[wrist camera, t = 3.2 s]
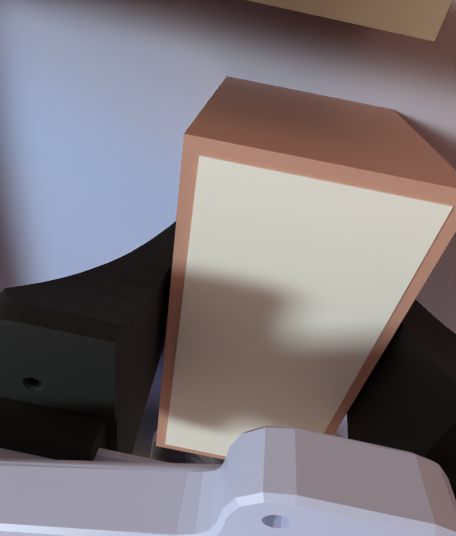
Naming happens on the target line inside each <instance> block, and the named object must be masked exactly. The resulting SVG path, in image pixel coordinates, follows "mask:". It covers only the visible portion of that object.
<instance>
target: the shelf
mask: <svg viewBox="0 0 456 536" xmlns="http://www.w3.org/2000/svg"><path fill="white" fill-rule="evenodd" d="M248 1H253V2H257V3H262V4H266V5H271V6H275V7H280V8H284V9H289V10H293V11H298V12H302V13H307V14H311V15H316V16H320V17H325V18H330V19H334V20H339V21H343V22H348V23H352V24H357V25H361V26H366V27H370V28H375V29H379V30H384V31H388V32H393V33H398V34H402V35H407V36H411V37H416V38H420V39H425V40H429V41H435V39H436V37H437V34H438V32H439V30H440V28H441V25H442V23H443V21H444V18H445V16H446V14H447V11H448V9H449V7H450V4H451V2H452V0H248Z"/></svg>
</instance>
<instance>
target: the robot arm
mask: <svg viewBox="0 0 456 536" xmlns="http://www.w3.org/2000/svg"><path fill="white" fill-rule="evenodd" d="M175 229H176V222H174V223H173V224H172V225H171V226H169V227H168V228H167V229H165V230H164V231H163V232H161V233H160V234H158V235H157V236H156V237H154V238H153V239H151V240H150V241H148V242H147V243H145V244H144V245H142V246H140V247H139V248H137V249H135V250H134V251H132V252H130V253H128V254H126V255H124V256H122V257H120V258H118V259H116V260H114V261H111V262H109V263H107V264H104V265H101V266H98V267H96V268H93V269H90V270H87V271H84V272H82V273H78V274H75V275H71V276H68V277H64V278H60V279H55V280H51V281H46V282H42V283H36V284H30V285H24V286H18V287H11V288H5V289H4V290H3V291H2V292H1V293H0V536H456V334H455V333H453V332H452V331H451V330H450V329H448V328H447V327H446V326H445V325H443V324H442V323H441V322H440V321H439V320H437V319H436V318H435V317H434V316H433V315H432V314H431V313H430V312H428V311H427V310H426V309H425V308H424V307H423V306H422V305H421V304H420V303H419V302H418V301H417V300H416V299H415V300H414V302H413V304H412V305H411V307H410V309H409V310H408V312H407V313H406V315H405V317H404V318H403V320H402V322H401V323H400V325H399V327H398V328H397V330H396V332H395V333H394V335H393V337H392V338H391V340H390V342H389V343H388V345H387V347H386V348H385V350H384V352H383V353H382V355H381V357H380V358H379V360H378V362H377V363H376V365H375V367H374V368H373V370H372V372H371V373H370V375H369V377H368V378H367V380H366V382H365V383H364V385H363V387H362V388H361V390H360V392H359V393H358V395H357V397H356V398H355V400H354V402H353V403H352V405H351V407H350V408H349V410H348V412H347V423H348V439H347V438H342V437H337V436H333V435H328V434H323V433H318V432H314V431H309V430H304V429H300V428H295V427H282V426H264V427H261V428H257V429H253V430H250V431H246V432H244V433H243V434H241V435H240V436H239V437H238V438H237V439H236V440H235V441H234V443H233V444H232V445H231V446H230V447H229V450H228V453H227V456H226V458H225V461H224V463H223V464H190V463H169V462H164V461H159V460H155V459H150V458H145V457H140V456H136V455H132V452H133V449H134V445H135V441H136V438H137V434H138V431H139V428H140V424H141V421H142V417H143V414H144V410H145V407H146V403H147V400H148V397H149V393H150V390H151V387H152V383H153V380H154V377H155V373H156V370H157V367H158V364H159V360H160V357H161V354H162V351H163V349H164V346H165V340H166V329H167V318H168V306H169V295H170V284H171V273H172V262H173V251H174V240H175Z"/></svg>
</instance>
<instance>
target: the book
mask: <svg viewBox="0 0 456 536" xmlns="http://www.w3.org/2000/svg"><path fill="white" fill-rule="evenodd" d="M455 232H456V170H455V169H454V168H453V167H452V166H451V165H450V164H449V163H448V162H447V161H446V160H445V159H444V158H443V157H442V156H441V155H440V154H439V153H438V152H437V151H436V150H434V149H433V148H432V147H431V146H430V145H429V144H428V143H427V142H426V141H425V140H424V139H423V138H422V137H421V136H420V135H419V134H418V133H417V132H416V131H415V130H414V129H413V128H412V127H411V126H410V125H409V124H408V123H407V122H406V121H405V120H404V119H403V118H402V117H401V116H400V115H399V114H398V113H397V112H396V111H394V110H392V109H387V108H382V107H377V106H372V105H367V104H362V103H357V102H352V101H347V100H343V99H338V98H333V97H328V96H323V95H318V94H313V93H308V92H303V91H298V90H293V89H288V88H283V87H278V86H273V85H268V84H263V83H258V82H253V81H248V80H243V79H238V78H233V77H228V76H227V77H226V78H225V79H224V81H223V82H222V83H221V85H220V86H219V87H218V89H217V90H216V91H215V93H214V94H213V96H212V97H211V98H210V100H209V101H208V102H207V104H206V105H205V106H204V108H203V109H202V110H201V112H200V113H199V114H198V116H197V117H196V118H195V120H194V121H193V123H192V124H191V125H190V127H189V128H188V129H187V131H186V132H185V133H184V141H183V152H182V163H181V174H180V185H179V196H178V207H177V218H176V229H175V240H174V251H173V262H172V273H171V284H170V295H169V306H168V318H167V329H166V340H165V351H164V362H163V373H162V384H161V395H160V406H159V417H158V428H157V439H156V446H159V447H164V448H169V449H174V450H179V451H184V452H189V453H194V454H199V455H204V456H209V457H214V458H219V459H224V460H225V458H226V456H227V453H228V450H229V447H230V446H231V445H232V444H233V443H234V441H235V440H236V439H237V438H238V437H239V436H240V435H241V434H243V433H244V432H246V431H250V430H253V429H257V428H261V427H264V426H282V427H295V428H300V429H304V430H309V431H314V432H318V433H323V434H328V435H334V433H335V432H336V430H337V428H338V427H339V425H340V423H341V422H342V420H343V418H344V417H345V415H346V413H347V412H348V410H349V408H350V407H351V405H352V403H353V402H354V400H355V398H356V397H357V395H358V393H359V392H360V390H361V388H362V387H363V385H364V383H365V382H366V380H367V378H368V377H369V375H370V373H371V372H372V370H373V368H374V367H375V365H376V363H377V362H378V360H379V358H380V357H381V355H382V353H383V352H384V350H385V348H386V347H387V345H388V343H389V342H390V340H391V338H392V337H393V335H394V333H395V332H396V330H397V328H398V327H399V325H400V323H401V322H402V320H403V318H404V317H405V315H406V313H407V312H408V310H409V309H410V307H411V305H412V304H413V302H414V300H415V299H416V297H417V295H418V294H419V292H420V290H421V289H422V287H423V285H424V284H425V282H426V280H427V279H428V277H429V275H430V274H431V272H432V270H433V269H434V267H435V265H436V264H437V262H438V260H439V259H440V257H441V255H442V254H443V252H444V250H445V249H446V247H447V245H448V244H449V242H450V240H451V239H452V237H453V235H454V234H455Z"/></svg>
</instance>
